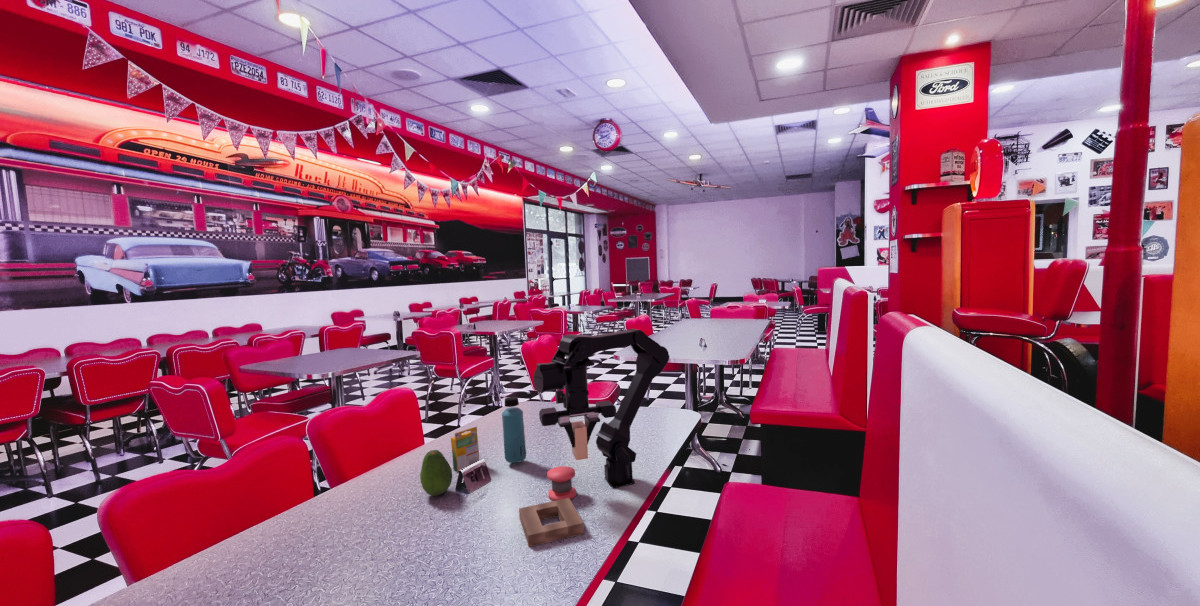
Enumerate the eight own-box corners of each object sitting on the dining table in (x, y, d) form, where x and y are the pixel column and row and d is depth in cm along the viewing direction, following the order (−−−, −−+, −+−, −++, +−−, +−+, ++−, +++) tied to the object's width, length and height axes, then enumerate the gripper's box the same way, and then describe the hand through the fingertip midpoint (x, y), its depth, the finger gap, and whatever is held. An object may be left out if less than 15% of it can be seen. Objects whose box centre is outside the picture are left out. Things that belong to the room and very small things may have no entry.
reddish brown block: (583, 451, 123) (581, 420, 122) (588, 458, 118) (586, 427, 117) (572, 452, 122) (570, 422, 121) (576, 460, 117) (574, 428, 116)
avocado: (415, 499, 123) (411, 453, 122) (437, 485, 130) (434, 442, 129) (438, 504, 119) (434, 457, 118) (460, 490, 126) (457, 446, 125)
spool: (572, 486, 125) (570, 464, 124) (579, 498, 118) (578, 475, 118) (546, 491, 123) (544, 469, 122) (552, 504, 116) (550, 480, 116)
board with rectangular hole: (569, 507, 114) (568, 497, 114) (583, 533, 103) (583, 522, 102) (519, 518, 110) (518, 508, 110) (528, 547, 99) (528, 535, 99)
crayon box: (475, 461, 145) (472, 424, 144) (480, 464, 143) (477, 426, 142) (452, 469, 140) (449, 431, 139) (457, 472, 137) (454, 433, 136)
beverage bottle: (522, 468, 138) (518, 401, 136) (501, 467, 139) (496, 400, 138) (530, 459, 144) (526, 394, 143) (509, 458, 146) (505, 394, 144)
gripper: (603, 374, 128) (606, 430, 130) (534, 382, 124) (538, 440, 125) (615, 383, 118) (618, 445, 119) (540, 392, 113) (544, 456, 114)
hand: (579, 446), depth 120 cm, fingers closed on reddish brown block, 3 cm apart
